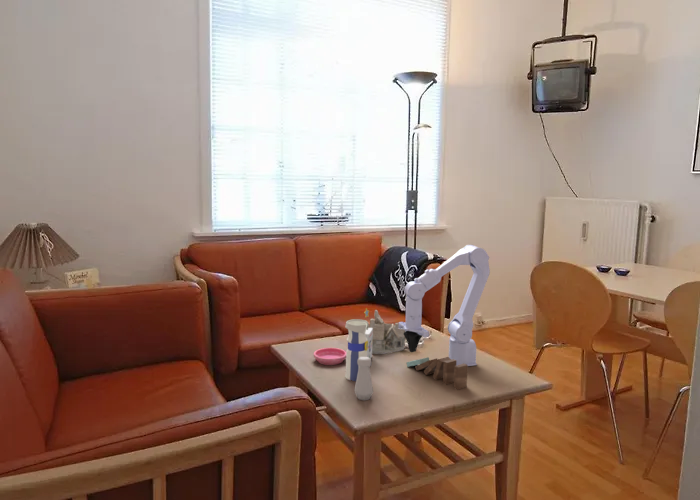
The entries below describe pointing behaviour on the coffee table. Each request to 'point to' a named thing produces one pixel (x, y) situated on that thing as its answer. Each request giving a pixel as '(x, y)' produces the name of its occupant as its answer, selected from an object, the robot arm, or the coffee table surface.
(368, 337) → the ink box
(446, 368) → the domino
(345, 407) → the coffee table surface
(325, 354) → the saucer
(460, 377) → the domino
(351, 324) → the water bottle
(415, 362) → the domino
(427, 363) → the domino
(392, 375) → the coffee table surface
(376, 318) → the ceramic cottage
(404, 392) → the coffee table surface
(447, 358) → the domino
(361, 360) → the salt shaker
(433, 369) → the domino
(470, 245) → the robot arm
